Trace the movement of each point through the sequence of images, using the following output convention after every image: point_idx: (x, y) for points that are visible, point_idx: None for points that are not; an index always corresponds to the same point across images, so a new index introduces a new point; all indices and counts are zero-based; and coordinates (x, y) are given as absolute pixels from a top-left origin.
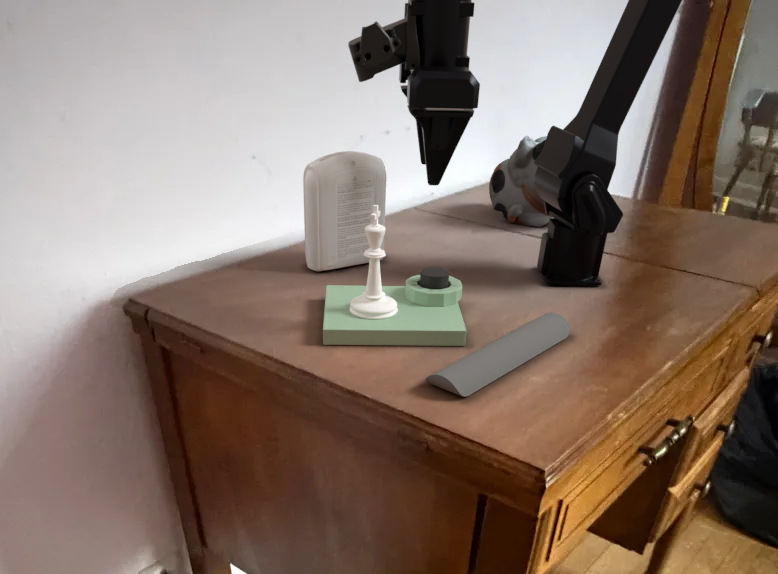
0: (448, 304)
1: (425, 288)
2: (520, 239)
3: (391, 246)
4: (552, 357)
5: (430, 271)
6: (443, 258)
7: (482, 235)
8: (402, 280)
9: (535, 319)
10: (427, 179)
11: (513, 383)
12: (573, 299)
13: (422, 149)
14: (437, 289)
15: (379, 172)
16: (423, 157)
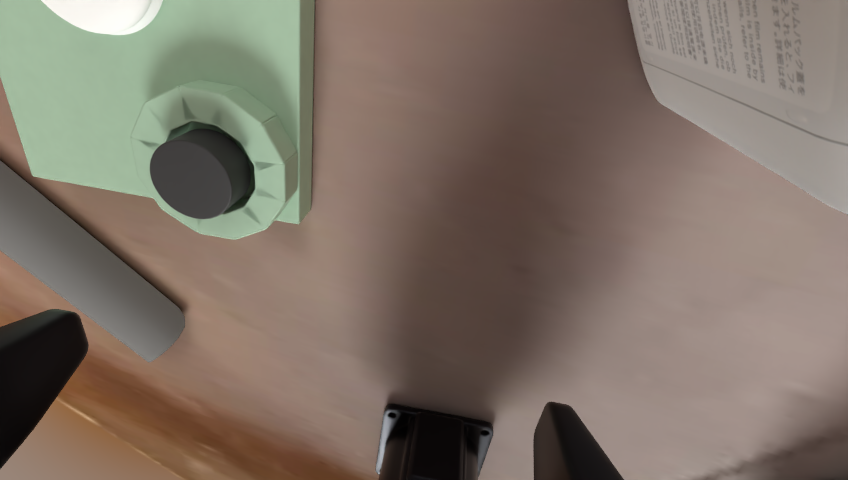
0: None
1: (162, 136)
2: (689, 458)
3: None
4: None
5: (192, 170)
6: (618, 273)
7: (760, 405)
8: (469, 121)
9: (131, 318)
10: (39, 319)
11: None
12: (322, 411)
13: (559, 474)
14: None
15: (846, 171)
16: (548, 436)
